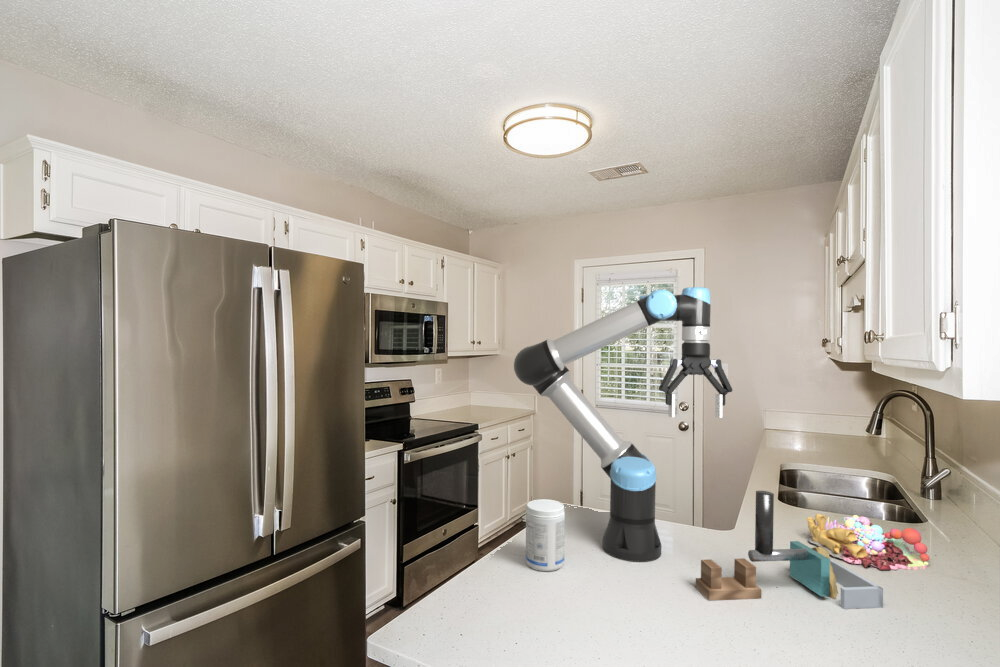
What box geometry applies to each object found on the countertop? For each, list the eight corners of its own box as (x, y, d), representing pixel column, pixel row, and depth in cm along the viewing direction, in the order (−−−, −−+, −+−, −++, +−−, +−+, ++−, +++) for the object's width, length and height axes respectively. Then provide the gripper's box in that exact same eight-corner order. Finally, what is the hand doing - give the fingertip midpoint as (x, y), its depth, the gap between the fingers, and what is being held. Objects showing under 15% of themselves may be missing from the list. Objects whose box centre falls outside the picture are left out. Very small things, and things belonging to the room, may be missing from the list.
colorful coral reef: (865, 576, 124) (865, 538, 125) (790, 539, 147) (790, 506, 148) (945, 568, 130) (946, 531, 130) (861, 534, 153) (861, 502, 153)
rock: (812, 562, 126) (788, 564, 121) (836, 542, 122) (812, 543, 117) (846, 604, 118) (821, 608, 114) (872, 585, 114) (848, 587, 110)
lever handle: (764, 598, 110) (766, 500, 110) (738, 576, 120) (739, 486, 120) (829, 596, 111) (830, 499, 112) (797, 575, 121) (798, 486, 122)
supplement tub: (553, 554, 133) (554, 497, 133) (571, 569, 124) (572, 508, 124) (519, 558, 129) (520, 500, 130) (534, 575, 120) (535, 512, 121)
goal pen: (844, 609, 108) (844, 589, 108) (789, 572, 125) (789, 555, 125) (882, 607, 109) (883, 588, 109) (823, 571, 126) (823, 555, 126)
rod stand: (709, 600, 110) (709, 570, 110) (695, 587, 116) (695, 558, 116) (761, 598, 112) (761, 568, 112) (745, 585, 118) (745, 556, 118)
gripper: (657, 341, 141) (656, 418, 141) (745, 342, 142) (745, 419, 142) (648, 341, 149) (647, 414, 149) (732, 342, 150) (731, 415, 150)
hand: (695, 417), depth 145 cm, fingers open, 13 cm apart
